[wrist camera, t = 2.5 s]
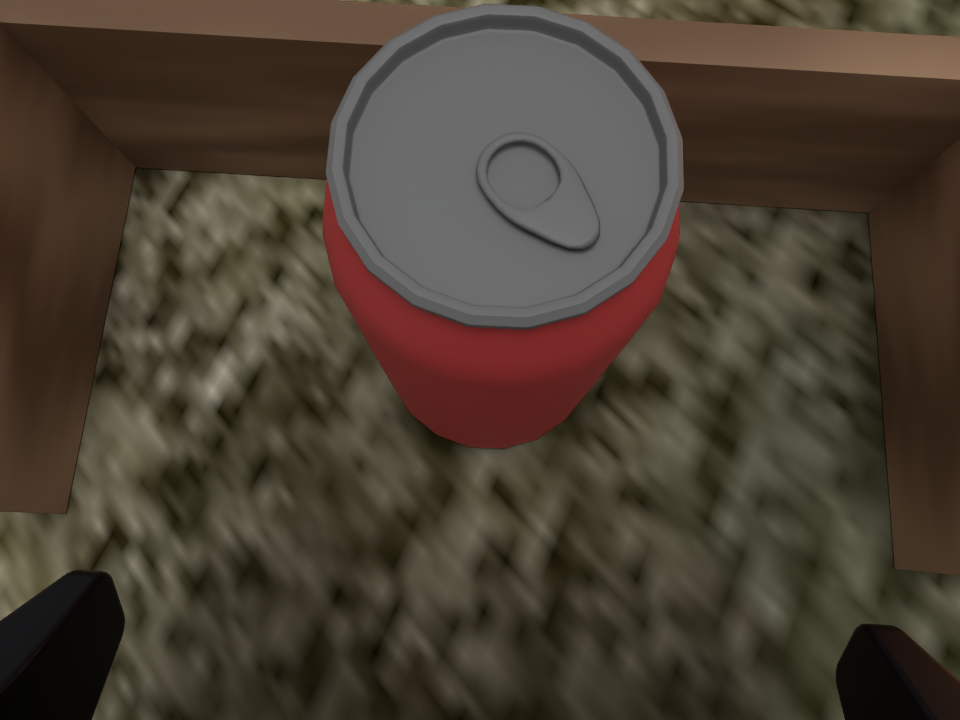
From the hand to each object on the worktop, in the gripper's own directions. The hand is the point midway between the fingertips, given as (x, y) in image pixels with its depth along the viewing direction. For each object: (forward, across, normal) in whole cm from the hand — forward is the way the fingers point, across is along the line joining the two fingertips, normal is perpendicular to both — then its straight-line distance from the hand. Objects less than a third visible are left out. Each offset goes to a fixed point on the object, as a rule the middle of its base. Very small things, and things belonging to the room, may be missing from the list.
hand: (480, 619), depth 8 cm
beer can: (+14, 0, +4) cm, 14 cm away
